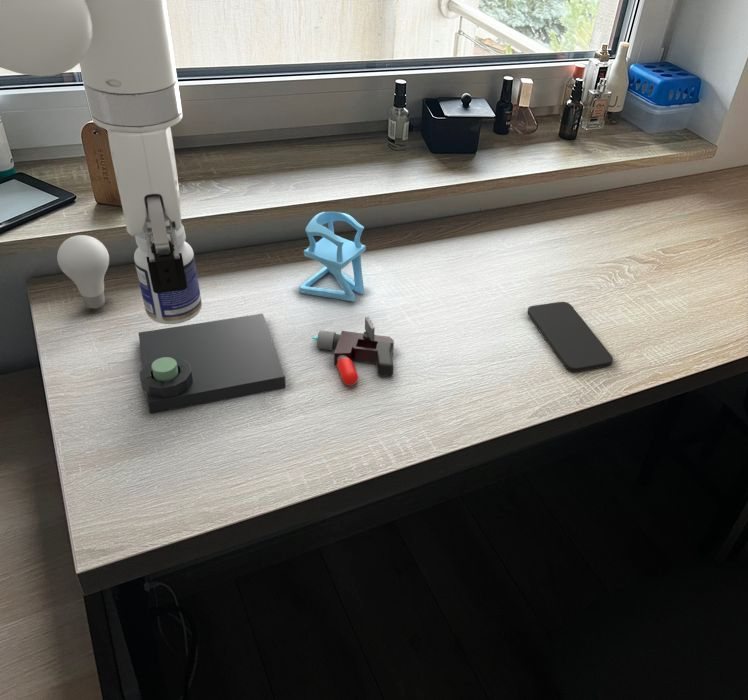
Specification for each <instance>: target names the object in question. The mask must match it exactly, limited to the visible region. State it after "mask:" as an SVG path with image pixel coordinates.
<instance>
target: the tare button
mask: <svg viewBox="0 0 748 700" xmlns="http://www.w3.org/2000/svg"><path fill="white" fill-rule="evenodd" d="M152 371H153V376H154V378H155V379H156V380H157V381H169V380H172V379H174V378H176V377H177V375H178V367H177V362H176V361H175V360H174V359H173V358H170V357H163V358H159V359H157V360H155V361H154V362H153V363H152Z"/></svg>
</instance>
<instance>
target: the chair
mask: <svg viewBox="0 0 748 700" xmlns="http://www.w3.org/2000/svg"><path fill="white" fill-rule="evenodd" d="M338 221H341V222H345V223H347V224H349V225H350V226H351V227H352V228H354V229H355V230H356V234H355V236H354V239H353V240H349V239H346V238H344V237H341V236H339V235H337V234H335V229H334V222H338ZM325 224H327V227H326V226H325ZM364 229H365V226H363V225H362V224H360V223H359V222H358V221H357V220H356V219H355V218H354V217H353V216H351V215H350V214H349V213H344V212H339V211H322V212H319V213H317V214H316V215H314V216H313V217H312V219H311V220H310V221H309V222H308V224H307V226H306V227H305V233H306V235H307V238H308V241H309V246H308V247H307V248H306V249H304V250H303V255H304V257H306V258H308V259H311V260H314V261H316V262H318V263H320V264H322V265H323V266H324V267H322V268H321V269H320V270H318V271H317V272H316V273H314V274H313V275H312V276H311V277H309V278H308V279H306V281H304V282H303V283H302V284H300V285H299V286H298V288H299V293H302V294H304V295H305V294H306V295H310V296H311V295H312V296H317V297H324V298H331V299H337V300H342V301H347V302H353V303H354V302H355V301H356V295H355V292H356V293H357V294H361V295H362V294H365V287H364V286H365V285H364V279H363V278H364V277H363V270H362V254H363V253H365V252H366V251H367V249H366V248H367V246H366V244H363V243H361V236H362V233H363V230H364ZM316 236H317V237H322V238H320V239H319V240H318V241H316V239H315V238H314V237H316ZM350 263H351V265H352V271H353V279H352V278H350V276H347V275H346V274H345V273H343V272H342V270H343V269H344V268H346V267H347V266H348V265H349V264H350ZM328 273H329V274H331V275H333V276H334V278H335V280H336V281H337V282H338V284H339V286H340V287H341V289H342V290H338V289H329V288H322V287H315V286H312V285H314V284H315V283H316V282H318V281H319V280H320V279H321V278H322V277H324V276H325V275H326V274H328Z"/></svg>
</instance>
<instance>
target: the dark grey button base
mask: <svg viewBox="0 0 748 700" xmlns="http://www.w3.org/2000/svg"><path fill="white" fill-rule="evenodd" d="M138 339H139V340H138V341H139V347H140V355H141V363H142V368H141V370H140V371H139V378H140V380H139V381H140V383H141V388H142V391H143V392H145V393H146V400H147V406H148V408H149V413H150V415H151V414H156V413H161V412H168V411H173V410H177V409H182V408H188V407H192V406H197V405H203V404H207V403H213V402H218V401H224V400H228V399H229V400H230V399H234V398H239V397H245V396H249V395H254V394H260V393H264V392H265V393H266V392H271V391H276V390H281V389H286V387H287V386H286V376H285V372H284V369H283V368H282V363H281V361H280V358H279V356H278V353H277V350H276V348H275V347H276V346H275V344H274V342H273V341H274V340H273V339H272V336H271V332H270V330H269V327H268V324H267V321H266V318H265V316H264V313H257V314H251V315H244V316H237V317H231V318H224V319H218V320H211V321H205V322H198V323H191V324H186V325H185V324H184V325H178V326H173V327H167V328H166V327H165V328H159V329H152V330H145V331H140V332H139V331H138ZM163 357H170V358H173V359H174V360H175V361H176V362H177V367H178V375H177V377H176V378H174V379H172V380H169V381H157V380H156V379H155V378H154V376H153V371H152V363H153V362H154V361H155V360H157V359H159V358H163Z"/></svg>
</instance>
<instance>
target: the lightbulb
mask: <svg viewBox="0 0 748 700" xmlns="http://www.w3.org/2000/svg"><path fill="white" fill-rule="evenodd" d="M56 254H57V255H56V260H57V264H58V266H59V268H60V270H61V271H62V273H63V274H64V275H66V277H68V278H69V279H70V280H71V281H72V282H73V283H74V284H75V286H76V288H77V289H78V292H79V294H80V295H81V296H82V299H83V301H84V304H85V306H86V308H89V309H95V310H96V309H99V308H101V307H102V306H104V305H105V303H106V297H105V280H104V279H105V275H106V272H107V271H108V268H109V265H110V255H109V251H108V249H107V247H106V246H105V245H104V243H103V242H101V241H100V240H99V239H98V238H95V237H93V236H90V235H85V234H78V235H73V236H70V237H68V238H66V240H64V241H63V242H62V243H61V244H60V245H59V248H58V250H57V253H56Z"/></svg>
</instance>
